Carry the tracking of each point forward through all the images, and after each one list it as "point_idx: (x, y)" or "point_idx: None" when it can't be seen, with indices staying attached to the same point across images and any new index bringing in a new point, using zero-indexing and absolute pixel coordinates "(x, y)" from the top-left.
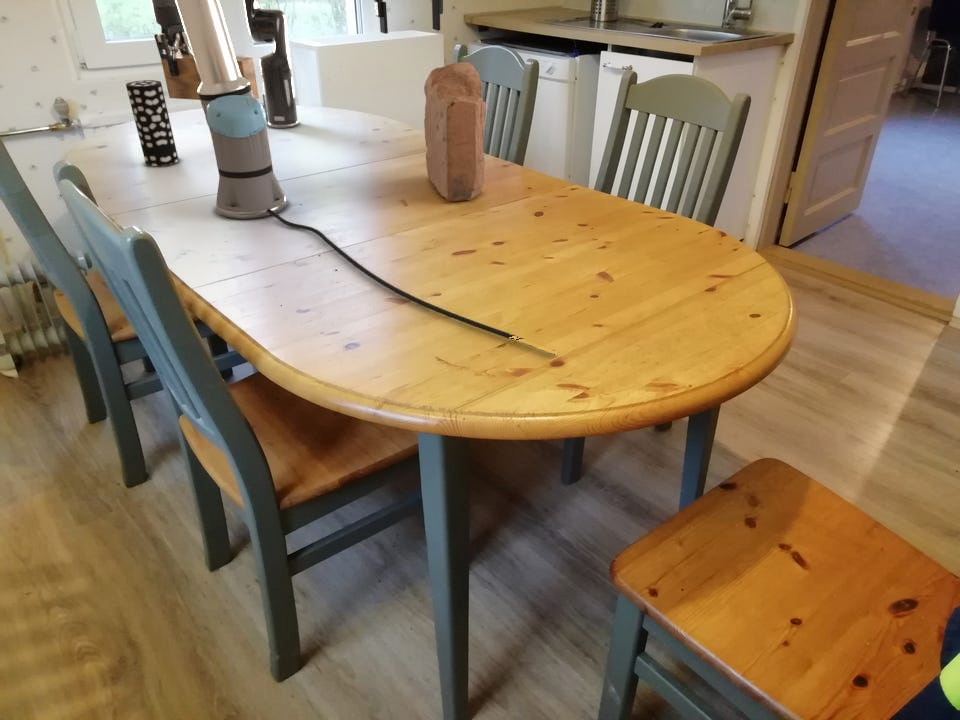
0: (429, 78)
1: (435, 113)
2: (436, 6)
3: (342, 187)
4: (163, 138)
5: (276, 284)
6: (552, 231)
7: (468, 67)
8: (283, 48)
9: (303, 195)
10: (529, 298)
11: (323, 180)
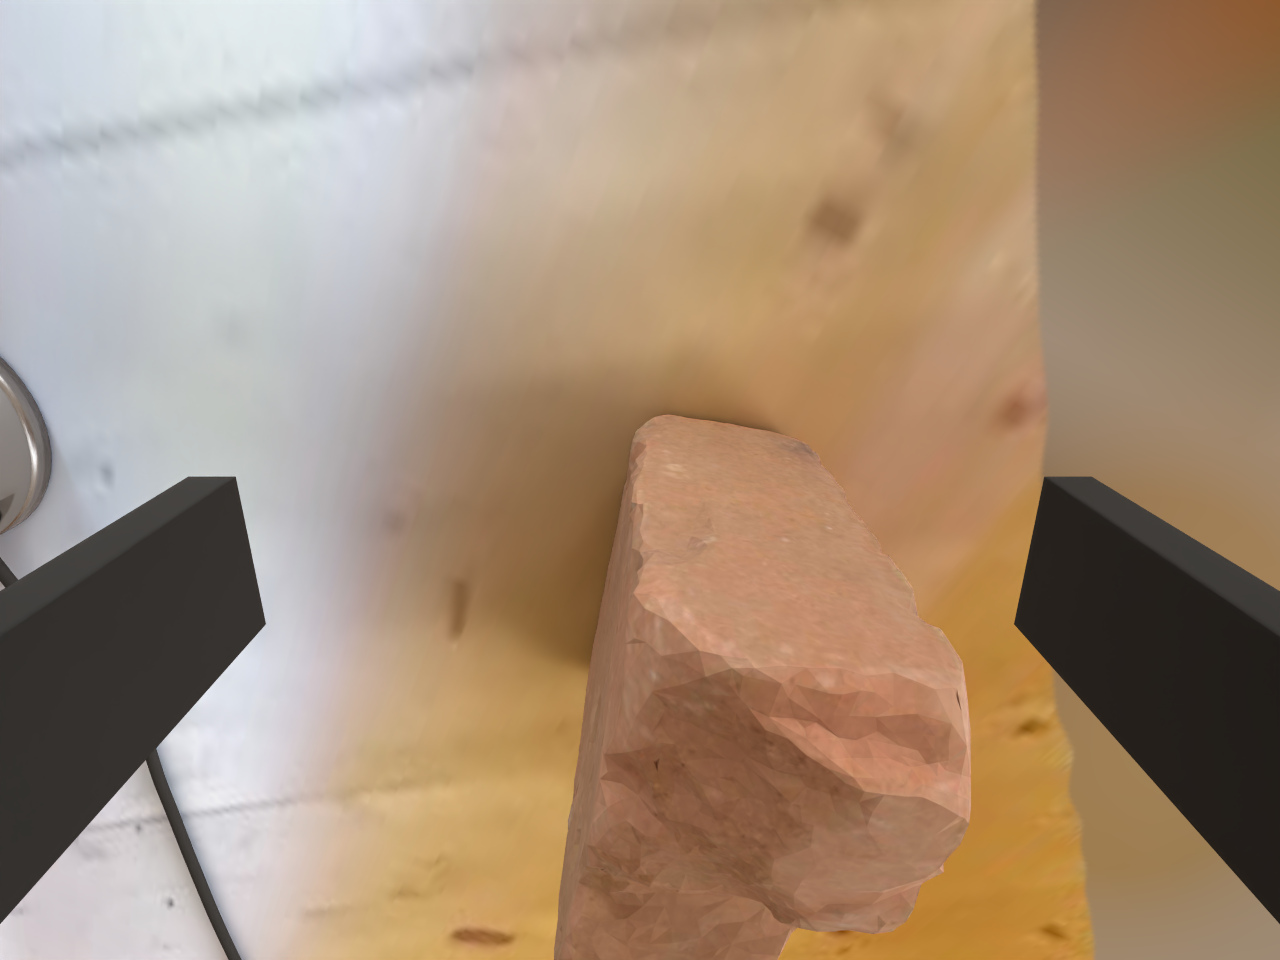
0: (641, 698)
1: (598, 735)
2: (1247, 861)
3: (284, 360)
4: None
5: (32, 909)
6: None
7: (883, 887)
8: None
9: (121, 381)
10: None
11: (219, 233)
